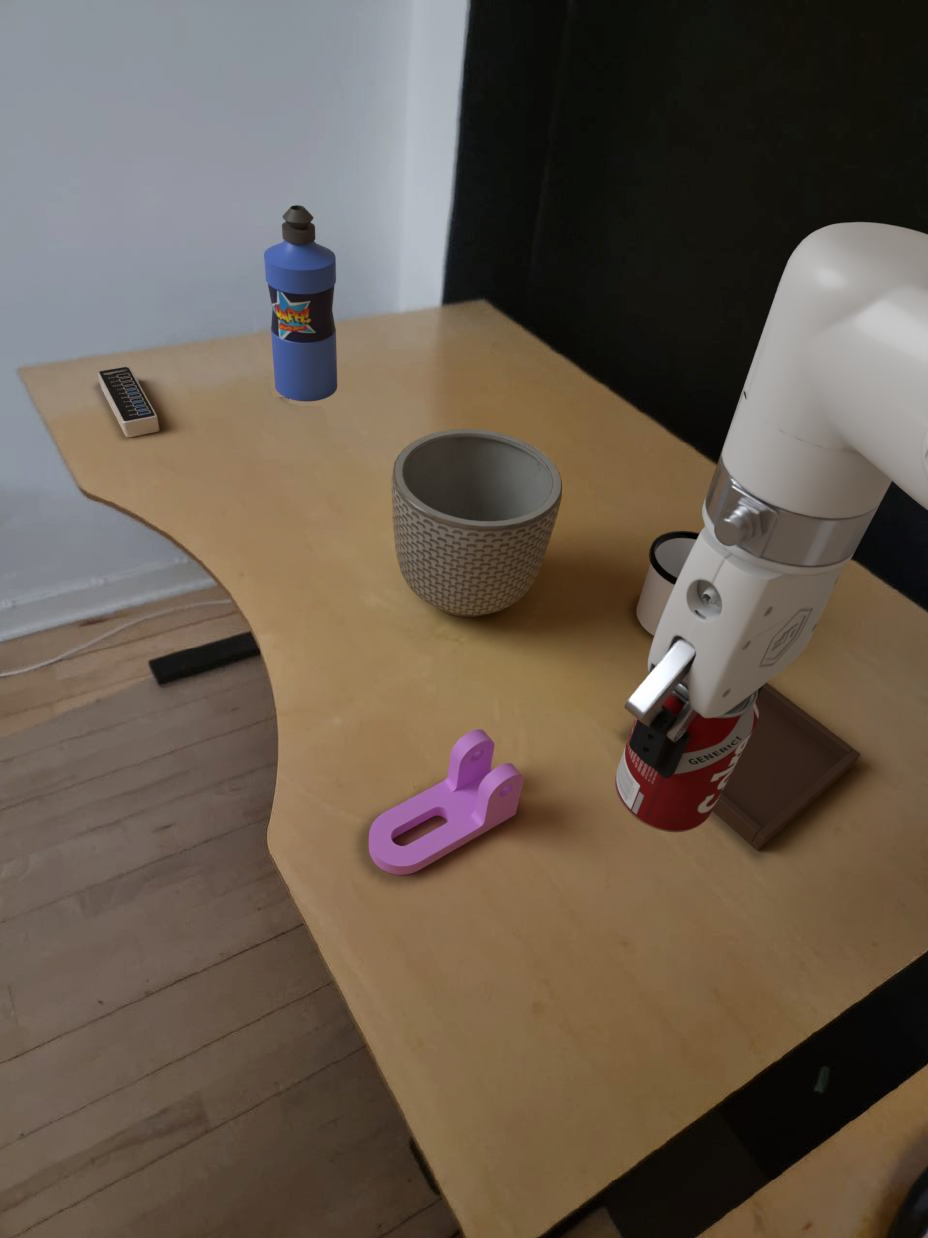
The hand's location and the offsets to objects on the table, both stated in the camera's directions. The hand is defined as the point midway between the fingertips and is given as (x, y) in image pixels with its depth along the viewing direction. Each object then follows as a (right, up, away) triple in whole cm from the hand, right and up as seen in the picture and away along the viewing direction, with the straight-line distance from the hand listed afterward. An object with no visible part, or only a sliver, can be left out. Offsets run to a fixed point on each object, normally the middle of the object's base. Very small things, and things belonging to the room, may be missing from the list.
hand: (689, 730), depth 53 cm
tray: (+13, -6, +29) cm, 33 cm away
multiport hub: (-60, +36, +63) cm, 95 cm away
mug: (+10, +7, +43) cm, 45 cm away
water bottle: (-38, +41, +72) cm, 91 cm away
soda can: (-1, -5, +5) cm, 7 cm away
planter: (-14, +10, +43) cm, 46 cm away
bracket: (-17, -11, +21) cm, 29 cm away
